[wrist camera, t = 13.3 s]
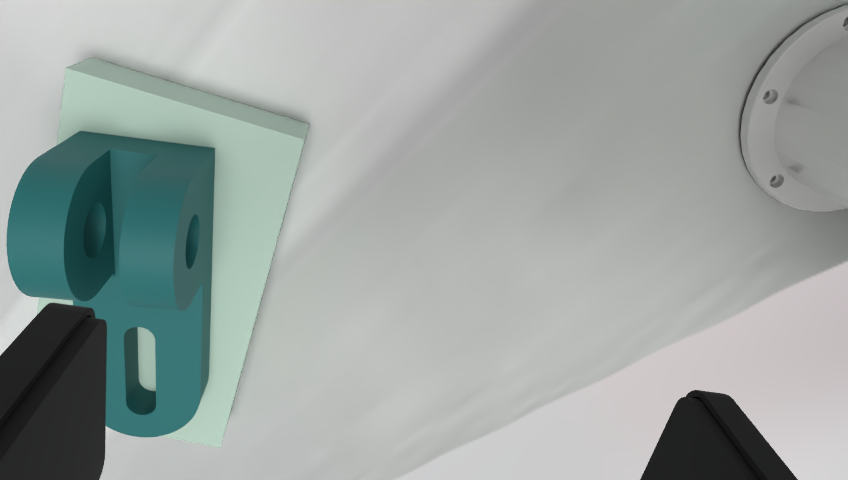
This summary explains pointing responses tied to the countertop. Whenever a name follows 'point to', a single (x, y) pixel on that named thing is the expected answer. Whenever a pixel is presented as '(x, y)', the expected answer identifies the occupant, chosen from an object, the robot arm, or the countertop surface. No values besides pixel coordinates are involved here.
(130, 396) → the bracket
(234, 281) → the base plate
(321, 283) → the countertop surface
